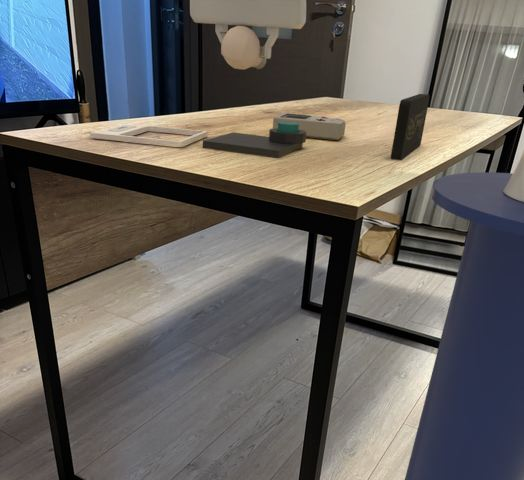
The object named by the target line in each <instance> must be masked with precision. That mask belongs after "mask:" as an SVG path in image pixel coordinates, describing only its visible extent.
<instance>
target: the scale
mask: <svg viewBox="0 0 524 480" xmlns="http://www.w3.org/2000/svg"><path fill="white" fill-rule="evenodd" d="M277 130H278V128H273V127H272V128H270V129H269V131H268V136H265V135H257V134H250V133H241V132H233V131H232V132H229V133H225V134H222V135H219V136H215V137H211V138H207V139H204V140H203V139H202V148H203V149H204V148H205V149H212V150H219V151H226V152H233V153H239V154H240V153H241V154H247V155H248V154H249V155H256V156H263V157H269V158H277V159H279V158H282V157H283V156H285V155H288V154H290V153H293V152H295V151H297V150H299V149H301V148H303V144H304V143H305V144H306V142H307V137H306V132H305V131H303V130H298V133H286V132H279V131H277Z"/></svg>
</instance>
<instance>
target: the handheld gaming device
mask: <svg viewBox="0 0 524 480" xmlns="http://www.w3.org/2000/svg"><path fill="white" fill-rule="evenodd" d="M272 119H273V120H272V129H273V128H278V122H295V123H299V130H303V131H305V132H306V138H309V139H318V140H319V139H320V140H329V141H339V140H340V139H341V138H342V137H343V136H344V135H345V130H346V121H345V120H344V119H340V118H336V117H327V116H321V115H311V114H300V113H290V112H289V113H288V112H282V113H280V114H277V115H274V116H273V118H272Z"/></svg>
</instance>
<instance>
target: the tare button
mask: <svg viewBox="0 0 524 480" xmlns="http://www.w3.org/2000/svg"><path fill="white" fill-rule="evenodd" d="M298 130H299V123H295V122H278V130H277V131H279V132H286V133H298Z"/></svg>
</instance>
